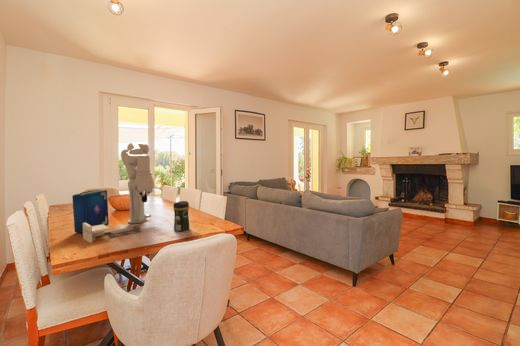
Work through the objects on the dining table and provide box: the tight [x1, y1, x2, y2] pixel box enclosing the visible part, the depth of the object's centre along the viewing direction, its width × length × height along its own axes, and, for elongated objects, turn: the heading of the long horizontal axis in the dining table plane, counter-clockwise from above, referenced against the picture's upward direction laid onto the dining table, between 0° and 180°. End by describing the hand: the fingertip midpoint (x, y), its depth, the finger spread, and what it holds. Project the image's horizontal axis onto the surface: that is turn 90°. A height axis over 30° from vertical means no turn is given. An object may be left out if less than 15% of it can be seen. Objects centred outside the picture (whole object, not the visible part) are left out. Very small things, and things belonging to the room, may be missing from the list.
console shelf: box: [82, 223, 111, 244], centre depth 147 cm, size 10×12×9 cm
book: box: [71, 189, 110, 234], centre depth 166 cm, size 22×7×25 cm, turn 168°
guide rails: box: [103, 229, 142, 239], centre depth 158 cm, size 18×10×1 cm, turn 138°
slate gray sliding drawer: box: [108, 224, 141, 236], centre depth 159 cm, size 16×7×3 cm, turn 141°
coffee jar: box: [173, 200, 190, 232], centre depth 165 cm, size 10×8×19 cm
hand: (144, 201), depth 167 cm, fingers closed
